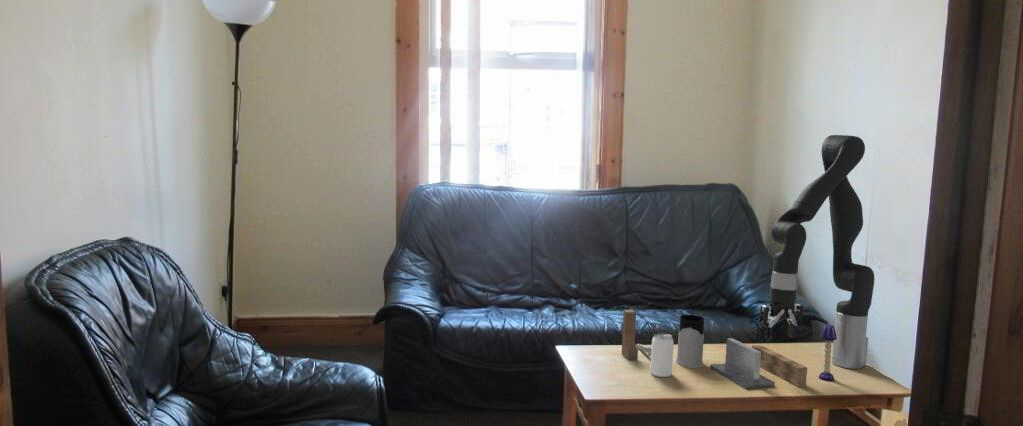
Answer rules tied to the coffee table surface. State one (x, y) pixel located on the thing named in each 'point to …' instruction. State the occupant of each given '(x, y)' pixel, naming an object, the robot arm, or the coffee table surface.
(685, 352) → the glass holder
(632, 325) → the wooden block
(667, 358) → the can
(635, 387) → the coffee table surface
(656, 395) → the coffee table surface
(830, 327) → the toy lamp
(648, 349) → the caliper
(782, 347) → the coffee table surface
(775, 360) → the brown wooden plank
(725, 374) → the ridge stand
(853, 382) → the coffee table surface
